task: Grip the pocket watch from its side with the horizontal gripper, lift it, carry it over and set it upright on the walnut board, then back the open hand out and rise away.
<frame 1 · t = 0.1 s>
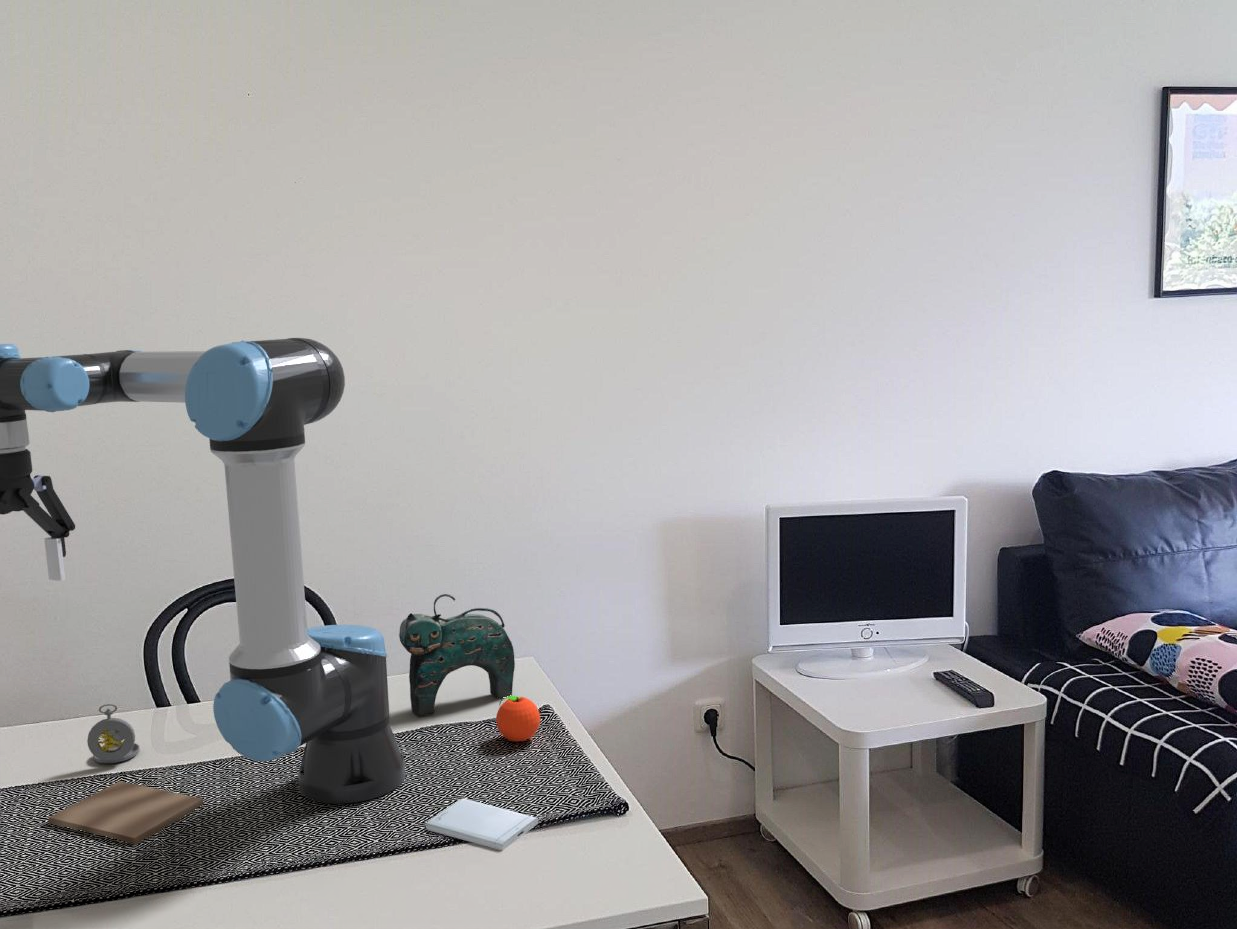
hand: (17, 591, 167), 28 cm above the table, tool pointing down, fingers open, 13 cm apart
ceramic cat: (459, 705, 192), on the table
clementine: (516, 740, 176), on the table
pocket watch: (115, 761, 173), on the table
walnut board: (127, 814, 154), on the table
hard drive: (482, 831, 148), on the table
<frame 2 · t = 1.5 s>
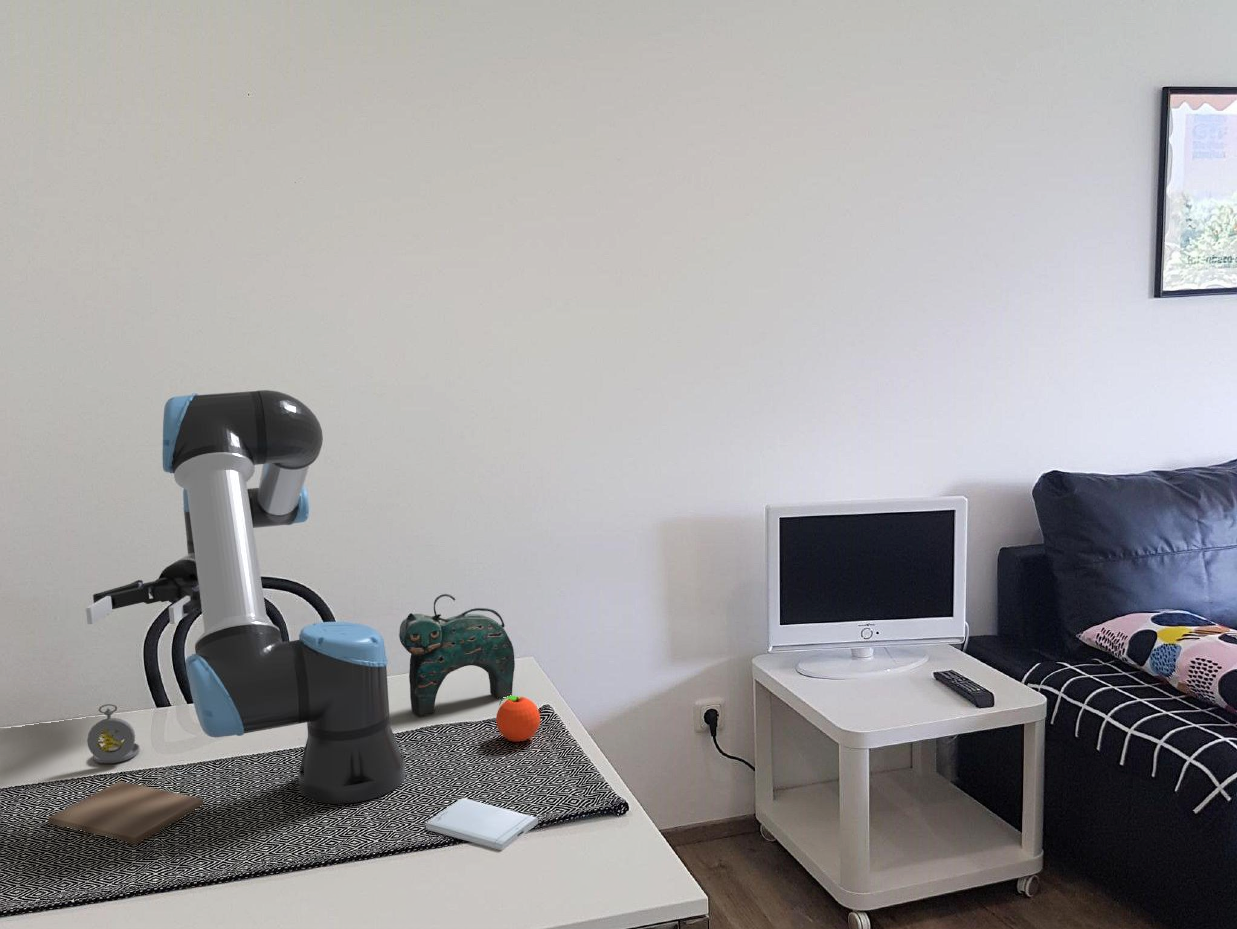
hand: (130, 616, 178), 20 cm above the table, tool horizontal, fingers open, 13 cm apart
nothing on the table moved.
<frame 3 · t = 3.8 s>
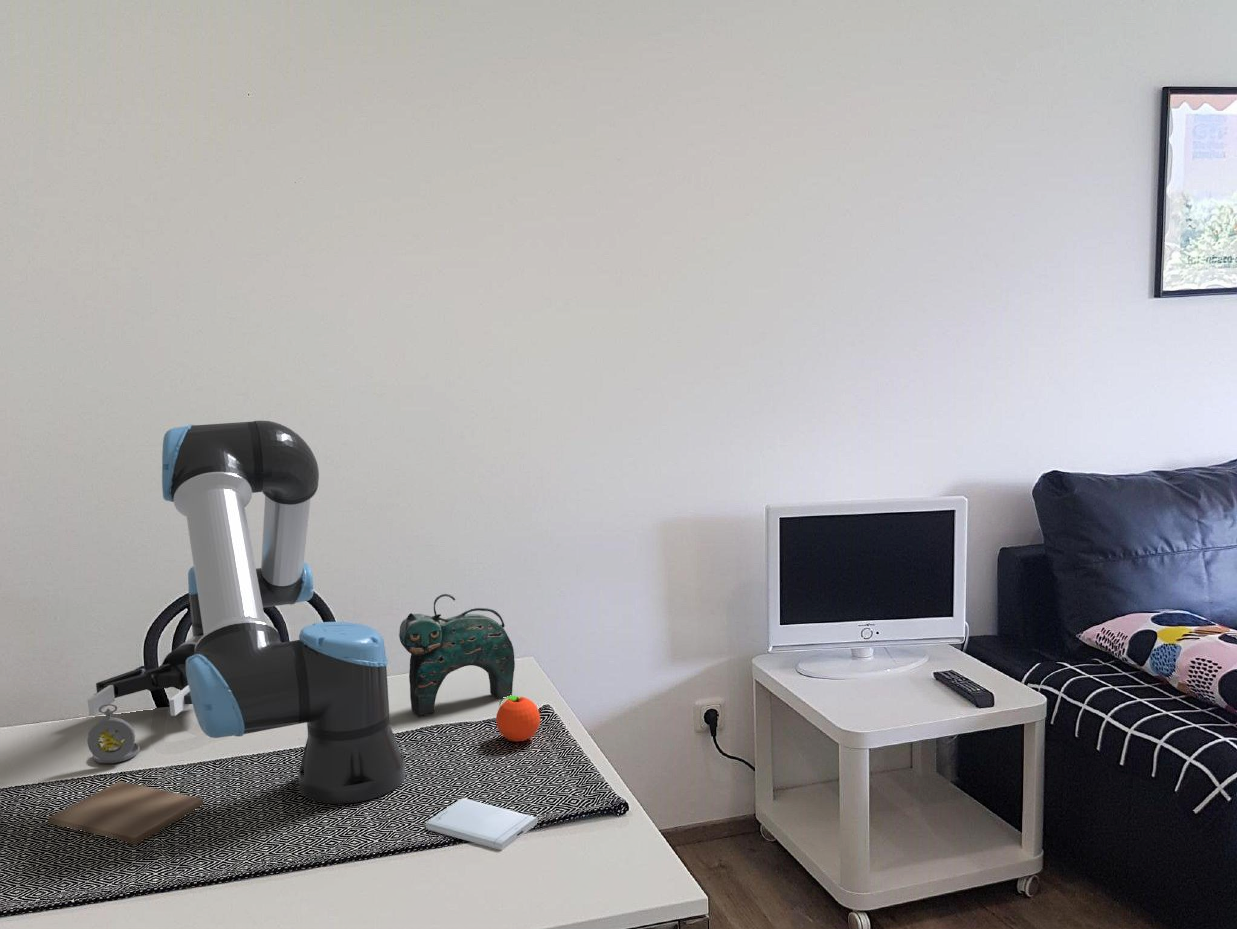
hand: (131, 707, 179), 6 cm above the table, tool horizontal, fingers open, 13 cm apart
nothing on the table moved.
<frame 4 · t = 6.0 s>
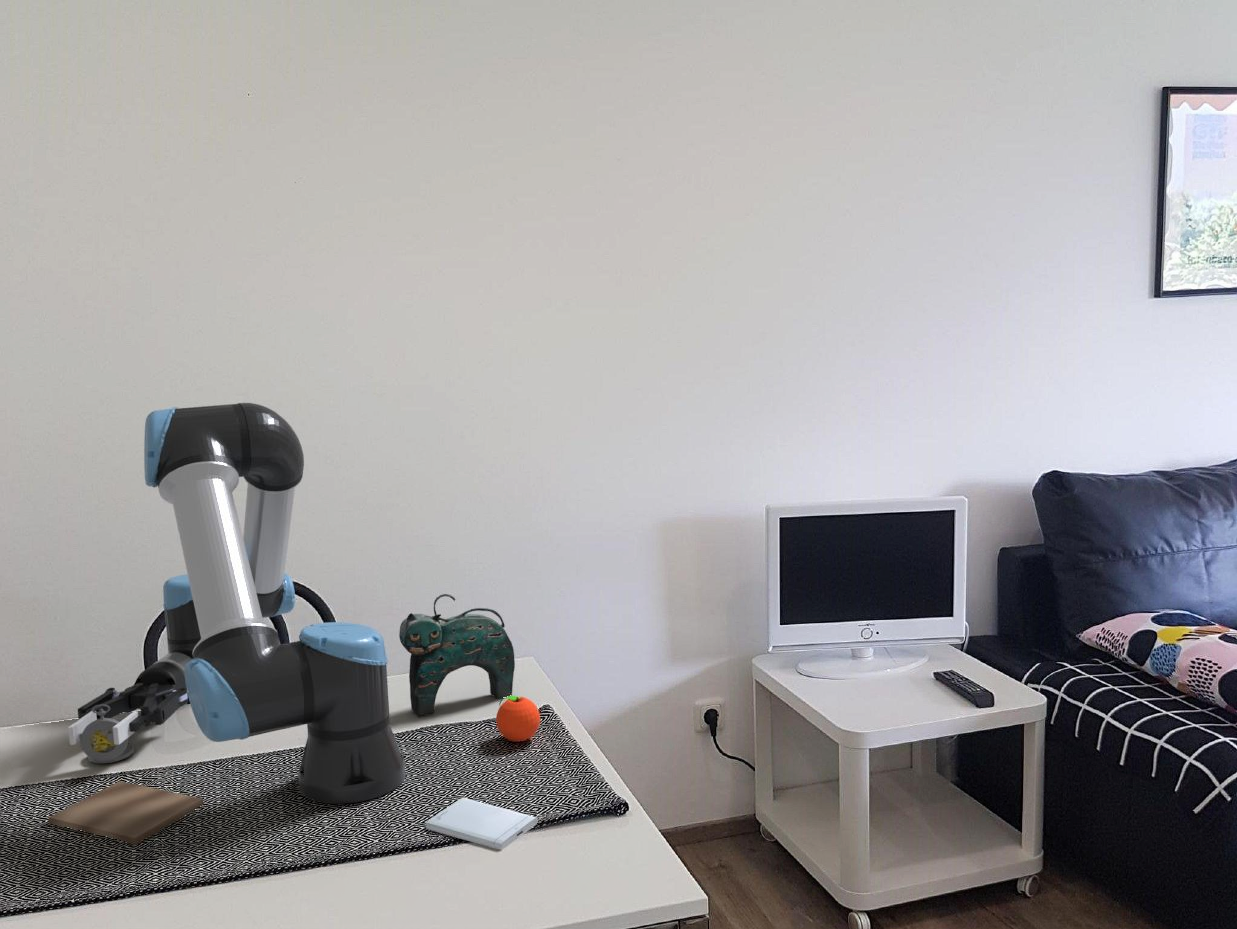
hand: (93, 735, 167), 6 cm above the table, tool horizontal, fingers closed on pocket watch, 6 cm apart
pocket watch: (109, 761, 173), on the table, touching gripper
everything else where it was.
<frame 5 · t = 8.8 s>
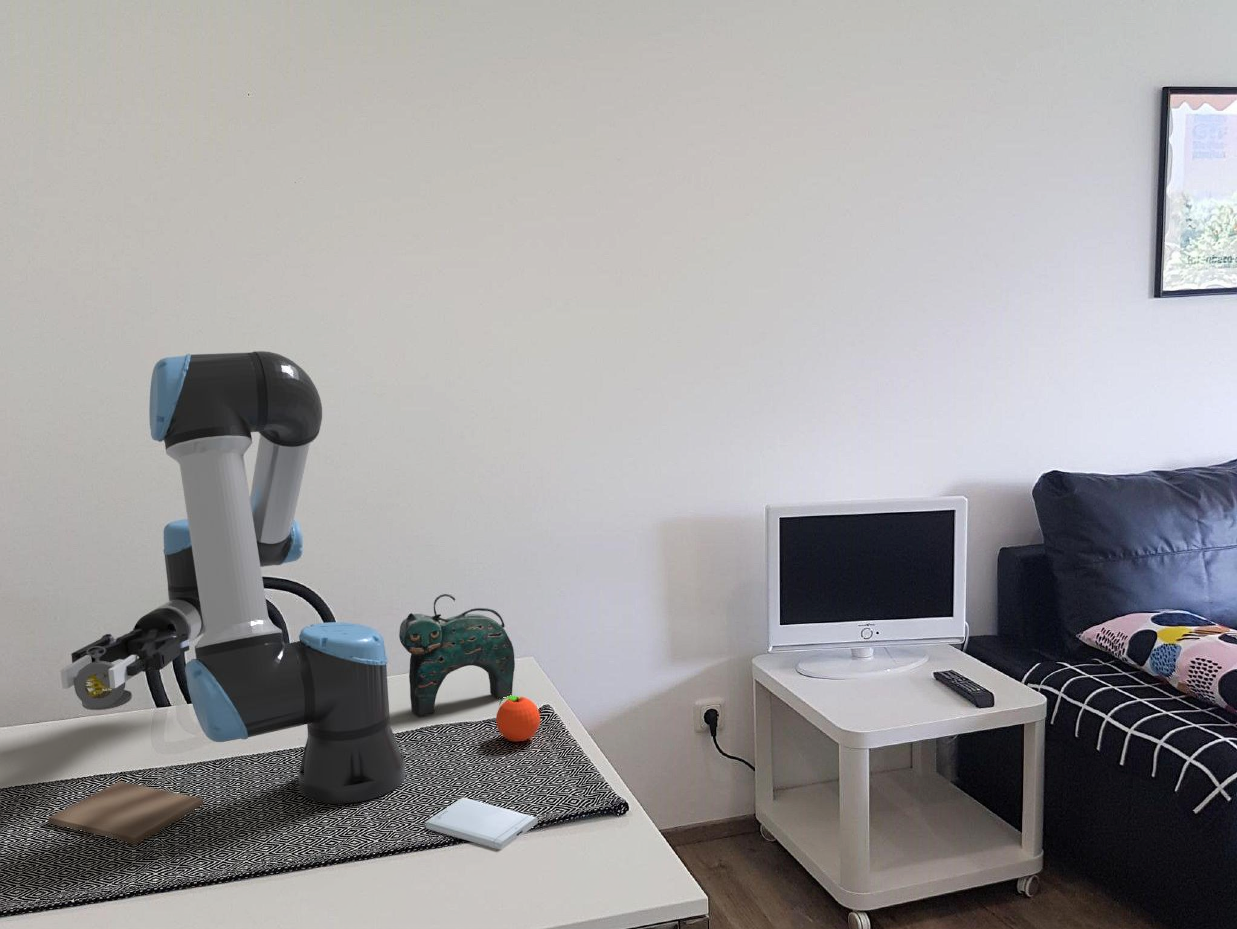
hand: (88, 679, 156), 18 cm above the table, tool horizontal, fingers closed on pocket watch, 6 cm apart
pocket watch: (105, 708, 162), point 12 cm above the table, touching gripper
everything else where it was.
when the fingers open (8 cm above the table, at t = 11.6 s): pocket watch drops 1 cm, resting on walnut board.
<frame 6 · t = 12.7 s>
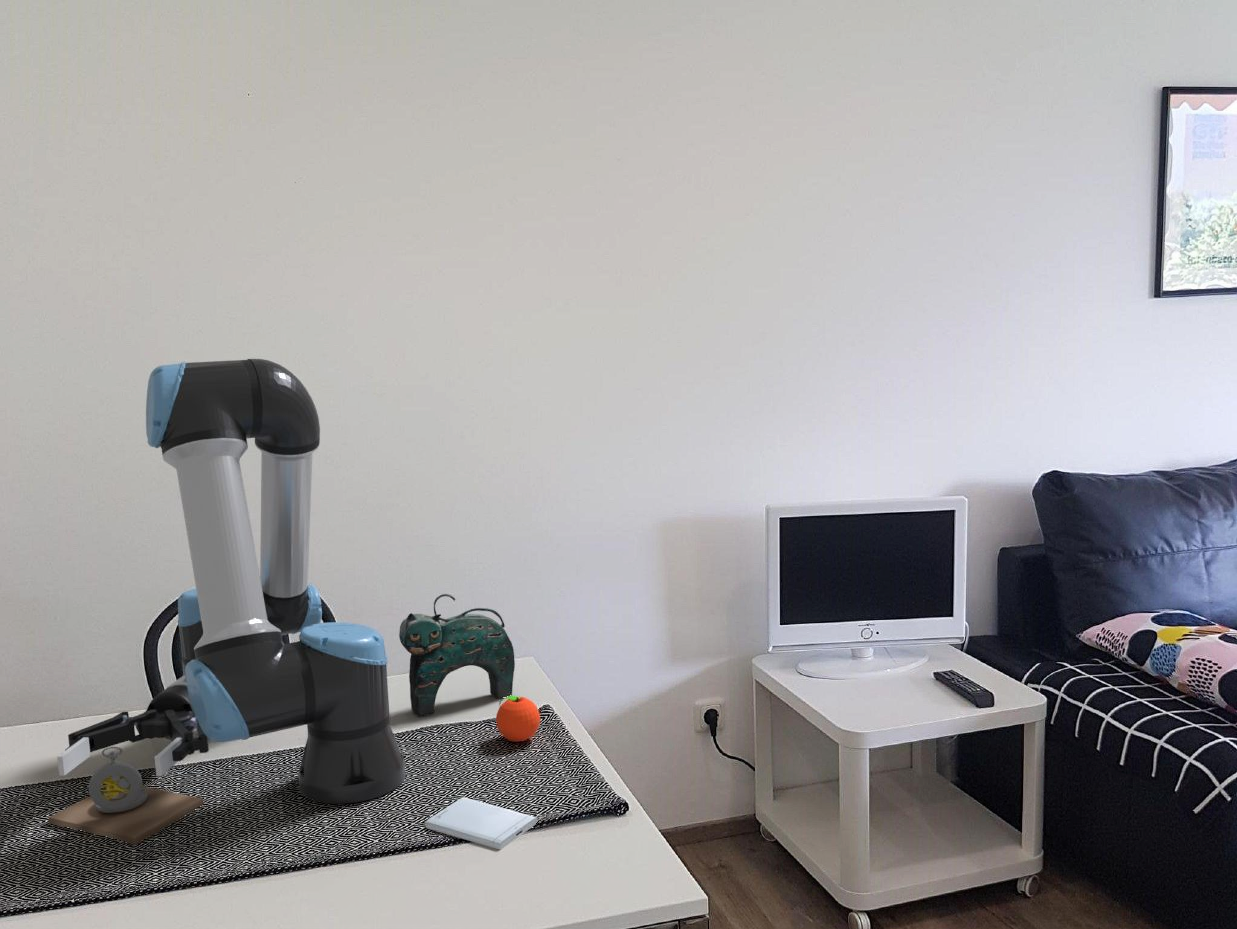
hand: (109, 766, 150), 9 cm above the table, tool horizontal, fingers open, 13 cm apart
pocket watch: (119, 809, 154), point 1 cm above the table, touching walnut board
everything else where it was.
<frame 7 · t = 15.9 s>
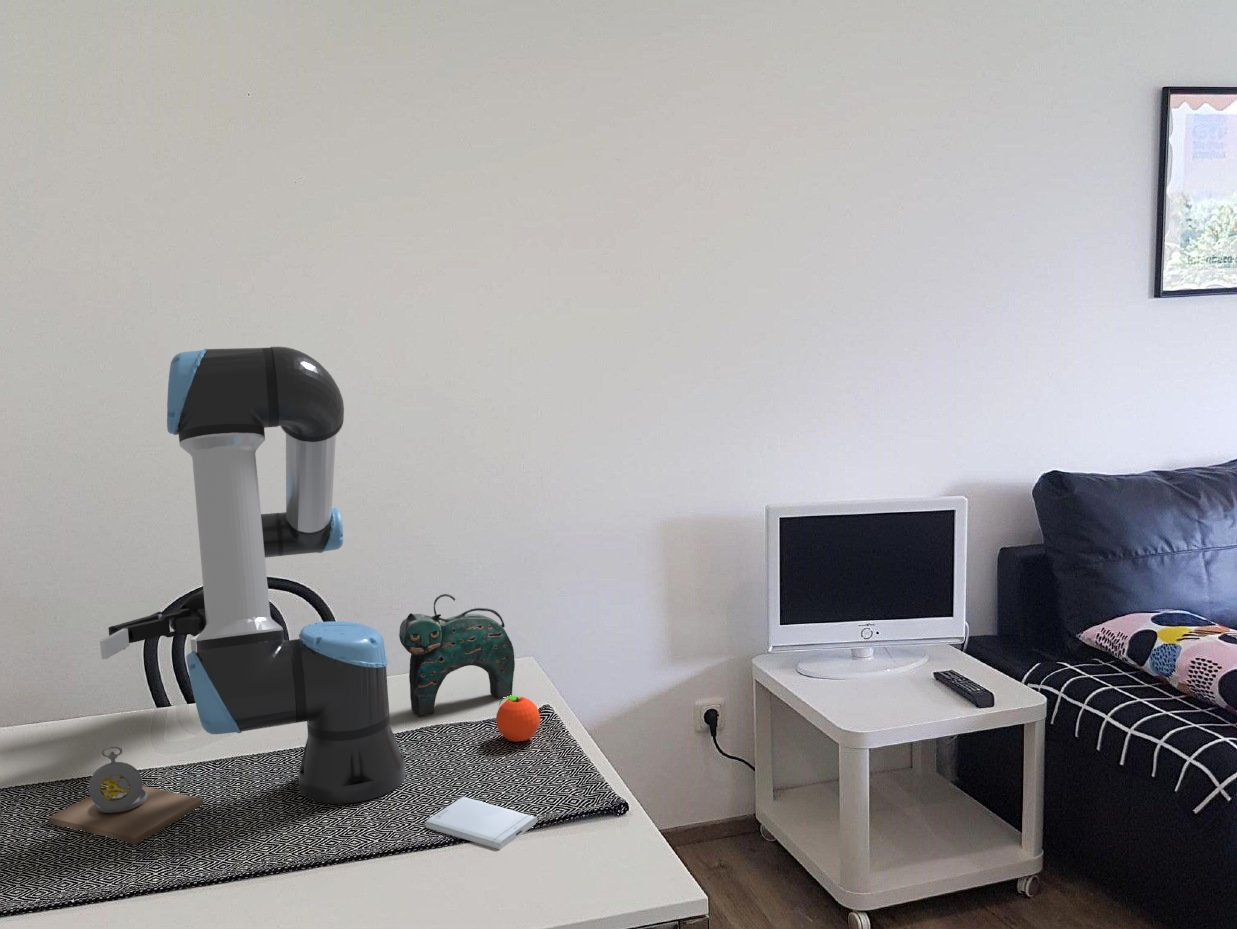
hand: (148, 649, 161), 20 cm above the table, tool horizontal, fingers open, 13 cm apart
nothing on the table moved.
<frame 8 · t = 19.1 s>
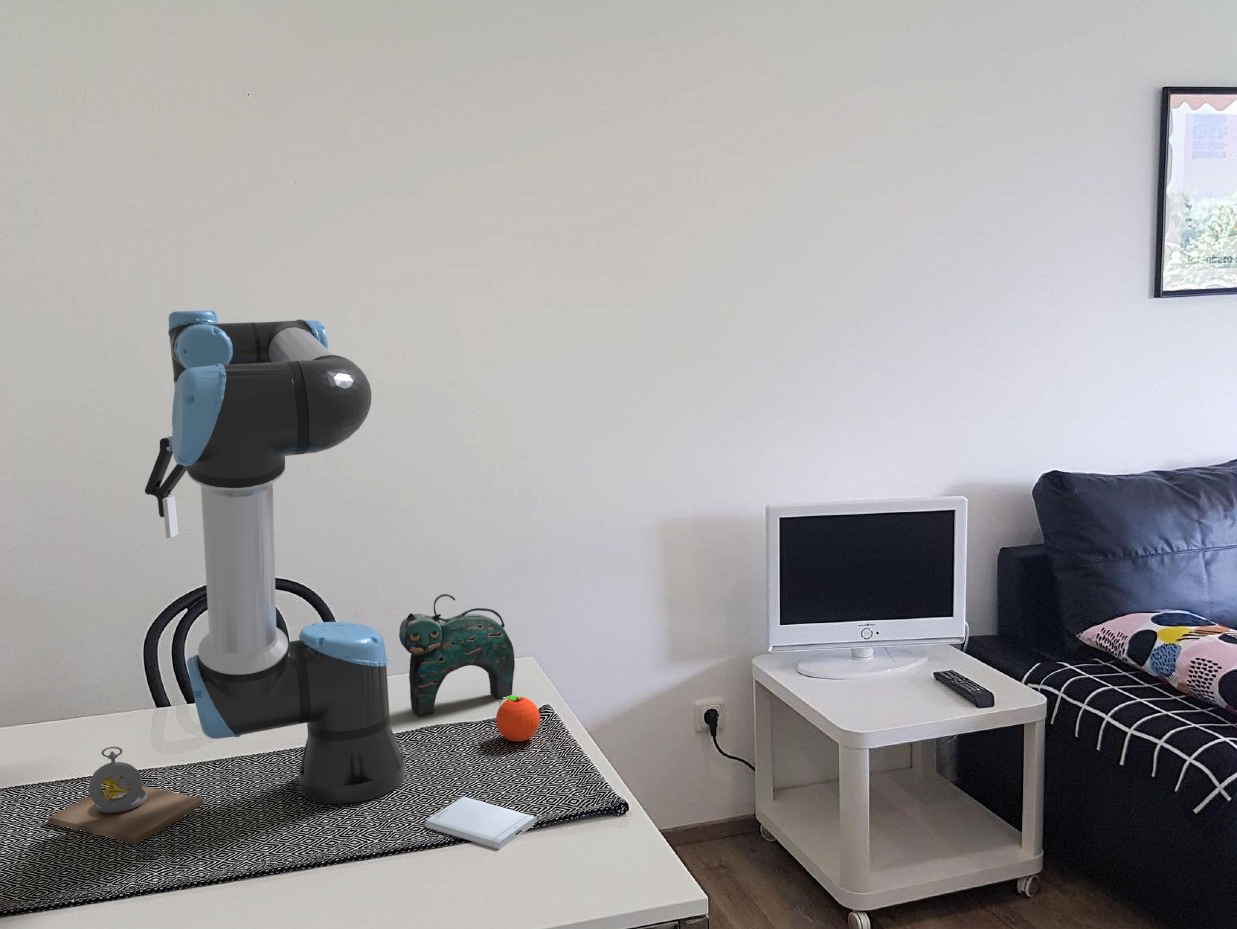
hand: (212, 536, 183), 32 cm above the table, tool pointing down, fingers open, 13 cm apart
nothing on the table moved.
at the end: pocket watch inside the target area on the walnut board (0.9 cm from its centre), point 0.8 cm above the walnut board's base; pocket watch tilted 0°; the gripper is holding nothing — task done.
